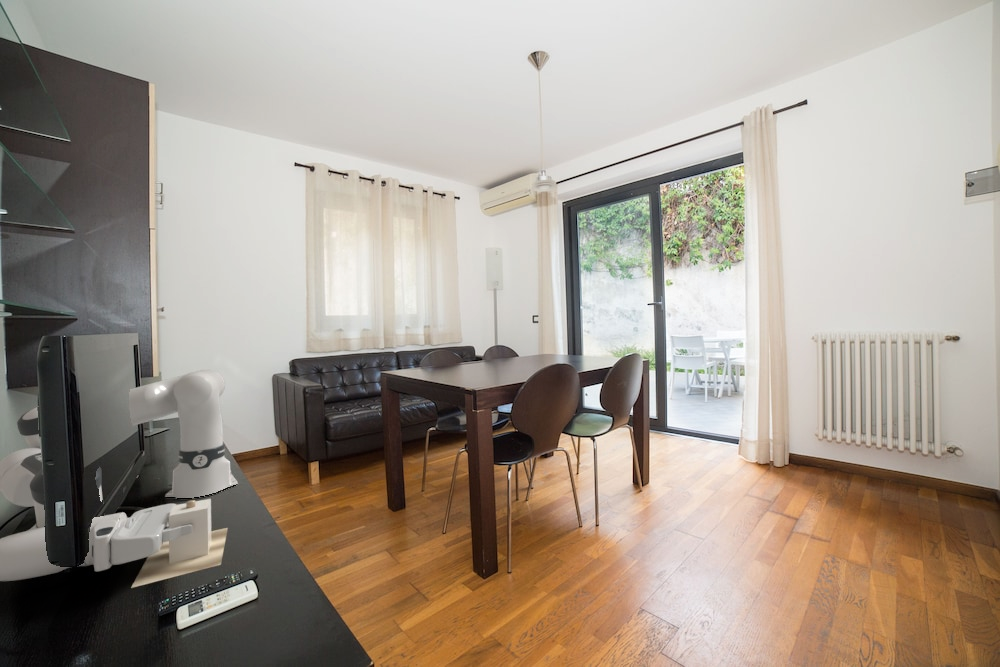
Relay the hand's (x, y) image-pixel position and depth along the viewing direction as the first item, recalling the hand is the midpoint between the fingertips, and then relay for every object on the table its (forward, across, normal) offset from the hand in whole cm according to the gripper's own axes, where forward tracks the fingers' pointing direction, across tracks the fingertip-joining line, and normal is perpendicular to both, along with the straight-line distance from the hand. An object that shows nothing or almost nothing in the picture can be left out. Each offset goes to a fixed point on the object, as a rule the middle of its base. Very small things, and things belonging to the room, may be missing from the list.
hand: (195, 519), depth 88 cm
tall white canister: (-1, 0, -7) cm, 7 cm away
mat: (-2, 0, -8) cm, 8 cm away
